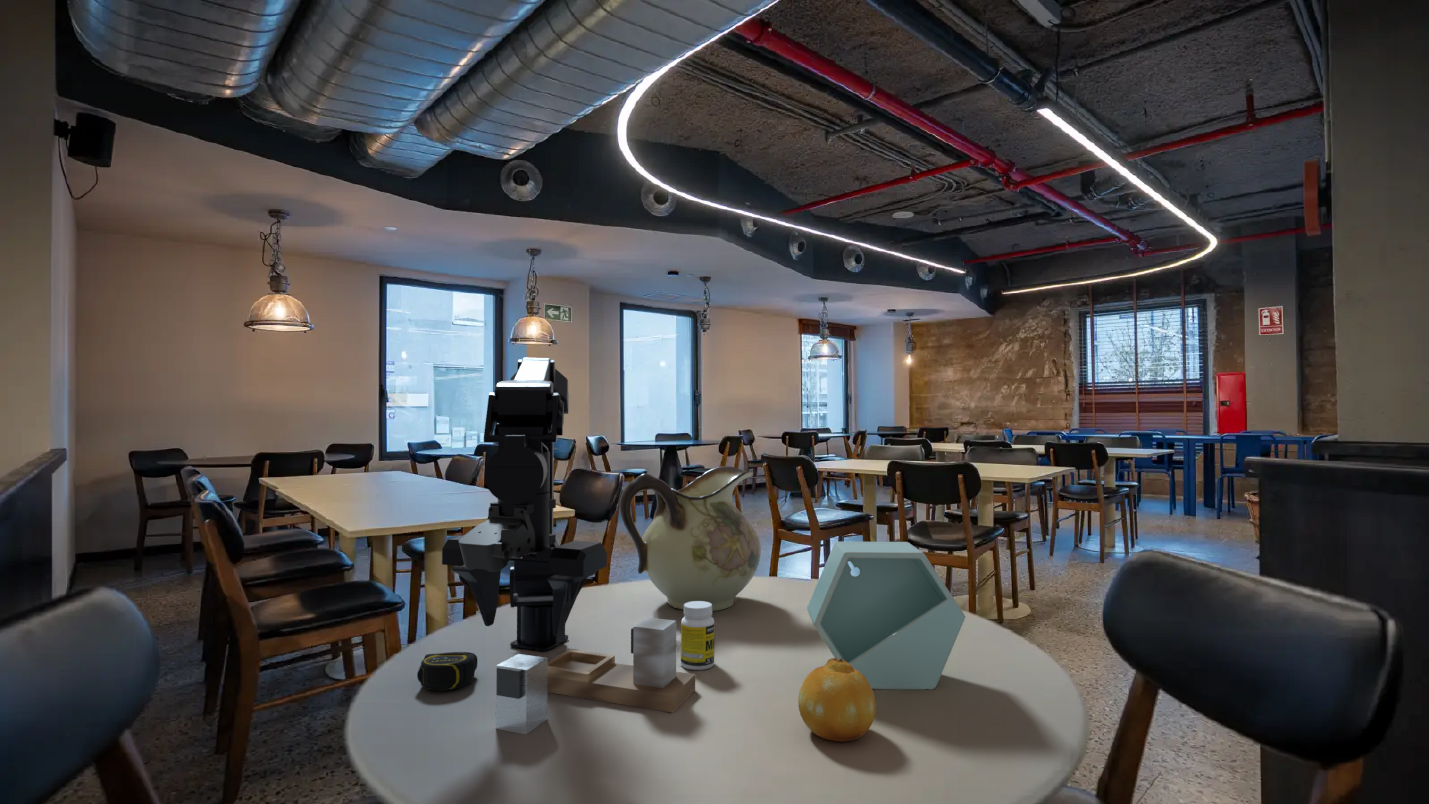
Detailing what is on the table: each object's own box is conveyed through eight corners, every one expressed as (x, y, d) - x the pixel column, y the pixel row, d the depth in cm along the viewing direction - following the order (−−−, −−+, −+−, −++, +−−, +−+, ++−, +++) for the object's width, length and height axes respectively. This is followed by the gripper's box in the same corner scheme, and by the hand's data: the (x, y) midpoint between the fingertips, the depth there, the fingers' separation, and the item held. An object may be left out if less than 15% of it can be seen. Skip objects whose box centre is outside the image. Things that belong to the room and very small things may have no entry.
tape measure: (478, 674, 92) (478, 647, 92) (469, 694, 86) (470, 664, 86) (425, 678, 91) (425, 650, 91) (412, 698, 84) (412, 668, 85)
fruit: (848, 688, 82) (825, 638, 79) (900, 719, 75) (876, 665, 72) (800, 737, 78) (775, 686, 75) (850, 774, 71) (824, 720, 69)
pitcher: (777, 595, 133) (777, 467, 133) (730, 629, 111) (730, 476, 112) (675, 583, 142) (675, 463, 143) (613, 613, 121) (614, 471, 121)
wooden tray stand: (529, 689, 87) (529, 618, 87) (559, 670, 94) (560, 604, 94) (673, 712, 80) (673, 635, 80) (695, 690, 87) (695, 619, 87)
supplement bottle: (710, 672, 93) (710, 610, 93) (677, 669, 94) (677, 608, 94) (717, 660, 98) (717, 600, 98) (685, 657, 99) (685, 599, 99)
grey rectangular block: (492, 731, 76) (492, 667, 76) (517, 714, 80) (518, 653, 80) (522, 736, 74) (523, 671, 74) (547, 719, 78) (547, 657, 79)
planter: (879, 725, 87) (789, 588, 88) (866, 700, 95) (784, 574, 95) (990, 653, 87) (900, 516, 87) (968, 633, 95) (886, 508, 95)
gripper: (405, 496, 74) (404, 642, 73) (554, 504, 67) (553, 664, 67) (474, 486, 84) (473, 614, 84) (609, 492, 78) (608, 630, 77)
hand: (522, 629), depth 78 cm, fingers open, 9 cm apart
